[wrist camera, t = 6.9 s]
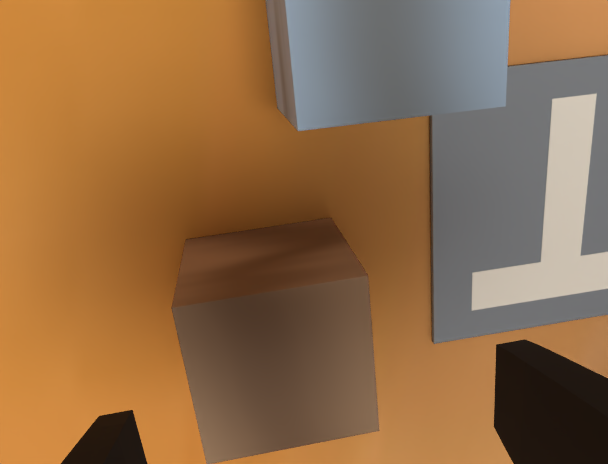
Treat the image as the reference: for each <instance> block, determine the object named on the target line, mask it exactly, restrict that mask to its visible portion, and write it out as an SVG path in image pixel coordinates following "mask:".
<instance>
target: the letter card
mask: <svg viewBox="0 0 608 464" xmlns="http://www.w3.org/2000/svg"><path fill="white" fill-rule="evenodd" d="M430 174H431V273H432V341H433V343H434V344H435V343H441V342H447V341H453V340H459V339H465V338H471V337H477V336H483V335H489V334H495V333H501V332H507V331H513V330H519V329H525V328H530V327H536V326H542V325H548V324H554V323H560V322H566V321H572V320H578V319H584V318H590V317H596V316H602V315H608V55H603V56H594V57H585V58H576V59H567V60H558V61H549V62H540V63H531V64H522V65H514V66H507V88H506V106H505V107H496V108H488V109H479V110H471V111H463V112H454V113H446V114H437V115H430Z"/></svg>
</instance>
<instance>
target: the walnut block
mask: <svg viewBox="0 0 608 464" xmlns="http://www.w3.org/2000/svg"><path fill="white" fill-rule="evenodd" d="M172 312H173V317H174V321H175V325H176V330H177V334H178V339H179V343H180V348H181V352H182V357H183V361H184V365H185V370H186V374H187V379H188V383H189V388H190V392H191V396H192V401H193V405H194V410H195V414H196V419H197V423H198V428H199V432H200V436H201V441H202V445H203V450H204V454H205V459H206V463H207V464H212V463H217V462H222V461H228V460H233V459H238V458H243V457H248V456H253V455H258V454H263V453H268V452H274V451H279V450H284V449H289V448H294V447H299V446H304V445H309V444H314V443H320V442H325V441H330V440H335V439H340V438H345V437H350V436H355V435H360V434H366V433H371V432H376V431H379V419H378V406H377V392H376V378H375V364H374V350H373V336H372V322H371V308H370V294H369V280H368V275H367V273H366V271H365V270H364V268H363V267H362V265H361V264H360V262H359V260H358V259H357V257H356V256H355V254H354V253H353V251H352V250H351V248H350V246H349V245H348V243H347V242H346V240H345V239H344V237H343V235H342V234H341V232H340V231H339V229H338V228H337V226H336V224H335V223H334V221H333V220H332V218H325V219H318V220H312V221H305V222H298V223H292V224H285V225H278V226H272V227H265V228H259V229H252V230H245V231H239V232H232V233H226V234H219V235H212V236H206V237H199V238H192V239H186V241H185V246H184V251H183V255H182V260H181V265H180V270H179V275H178V279H177V284H176V289H175V294H174V298H173V303H172Z"/></svg>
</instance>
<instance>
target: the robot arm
mask: <svg viewBox="0 0 608 464" xmlns="http://www.w3.org/2000/svg"><path fill="white" fill-rule="evenodd" d="M494 427H495V429H496V431H497V433H498V435H499V437H500V439H501V441H502V443H503V445H504V447H505V449H506V451H507V452H508V454H509V456H510V458H511V460H512V461H513V463H514V464H608V378H606V377H604V376H602V375H600V374H597V373H595V372H593V371H591V370H589V369H587V368H585V367H583V366H581V365H579V364H577V363H575V362H573V361H571V360H569V359H567V358H565V357H563V356H561V355H558V354H556V353H554V352H552V351H550V350H548V349H546V348H544V347H541V346H539V345H537V344H535V343H532V342H530V341H527V340H520V341H514V342H509V343H503V344H497V345H496V375H495V409H494ZM61 464H147V461H146V458H145V454H144V450H143V447H142V443H141V439H140V436H139V432H138V428H137V425H136V421H135V418H134V414H133V410H130V411H124V412H119V413H113V414H107V415H102V416H99V417H98V418H97V419H96V421H95V422H94V423H93V424H92V425H91V427H90V428H89V429H88V430H87V432H86V433H85V434H84V435H83V437H82V438H81V439H80V440H79V442H78V443H77V444H76V445H75V447H74V448H73V449H72V450H71V452H70V453H69V454H68V455H67V457H66V458H65V459H64V460H63V462H62V463H61Z"/></svg>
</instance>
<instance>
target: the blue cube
mask: <svg viewBox="0 0 608 464" xmlns="http://www.w3.org/2000/svg"><path fill="white" fill-rule="evenodd" d="M266 9H267V18H268V27H269V36H270V45H271V54H272V63H273V72H274V81H275V90H276V99H277V108H278V109H279V110H280V112H281V113H282V114H283V115H284V116H285V117H286V118H287V119H288V121H289V122H290V123H291V124H292V125H293V126H294V127H295V128H296V130H297V131H303V130H311V129H320V128H328V127H336V126H345V125H353V124H362V123H370V122H379V121H387V120H395V119H404V118H412V117H421V116H429V115H437V114H446V113H454V112H463V111H471V110H479V109H488V108H496V107H505V106H506V88H507V65H508V41H509V17H510V0H266Z"/></svg>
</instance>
